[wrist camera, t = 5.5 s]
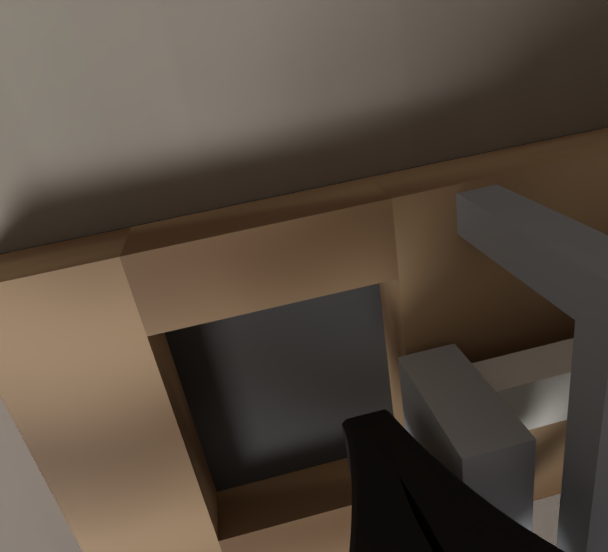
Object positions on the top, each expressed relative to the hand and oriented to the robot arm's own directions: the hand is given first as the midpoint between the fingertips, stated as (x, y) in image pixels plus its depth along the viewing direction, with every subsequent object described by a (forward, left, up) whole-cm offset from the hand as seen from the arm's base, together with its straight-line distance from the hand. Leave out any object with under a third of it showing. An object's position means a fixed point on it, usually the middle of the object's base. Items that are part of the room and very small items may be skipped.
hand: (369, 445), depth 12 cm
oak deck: (0, -7, -3) cm, 8 cm away
